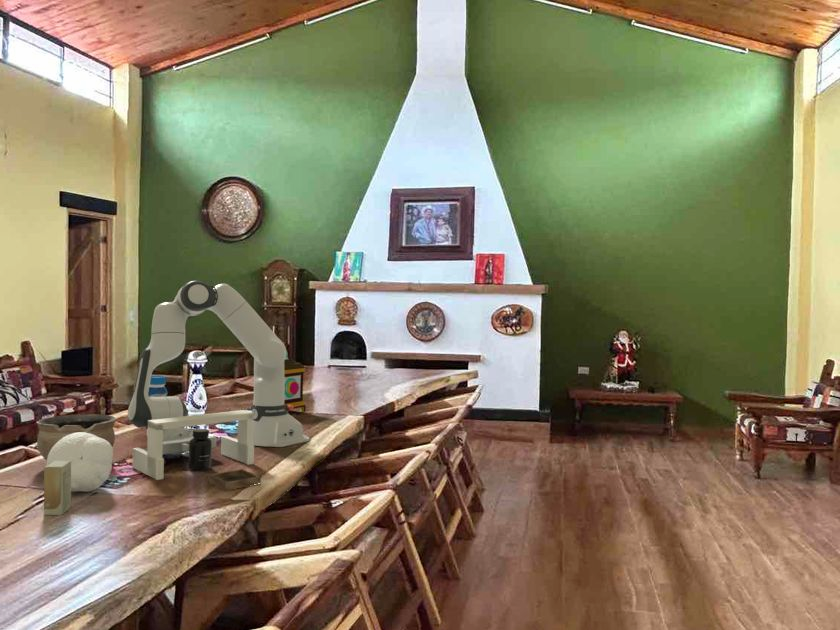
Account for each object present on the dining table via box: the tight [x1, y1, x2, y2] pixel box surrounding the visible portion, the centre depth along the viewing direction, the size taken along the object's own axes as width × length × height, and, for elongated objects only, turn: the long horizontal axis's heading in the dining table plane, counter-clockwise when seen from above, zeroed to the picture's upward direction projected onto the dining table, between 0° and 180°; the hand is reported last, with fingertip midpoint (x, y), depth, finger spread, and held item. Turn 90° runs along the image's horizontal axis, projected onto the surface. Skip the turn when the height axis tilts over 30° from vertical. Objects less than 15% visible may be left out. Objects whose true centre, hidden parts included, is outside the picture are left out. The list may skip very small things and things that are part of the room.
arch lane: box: [132, 409, 255, 481], centre depth 228 cm, size 32×18×16 cm, turn 133°
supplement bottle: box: [187, 428, 213, 472], centre depth 225 cm, size 7×7×12 cm
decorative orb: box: [46, 432, 114, 493], centre depth 198 cm, size 20×18×16 cm
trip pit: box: [207, 468, 262, 491], centre depth 210 cm, size 11×11×2 cm
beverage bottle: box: [148, 374, 169, 397], centre depth 287 cm, size 8×8×20 cm
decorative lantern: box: [250, 350, 307, 413], centre depth 324 cm, size 20×20×30 cm
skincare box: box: [43, 461, 72, 516], centre depth 180 cm, size 6×4×12 cm
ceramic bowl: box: [35, 414, 117, 462], centre depth 223 cm, size 22×22×15 cm
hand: (195, 448), depth 227 cm, fingers closed, pressing on supplement bottle
